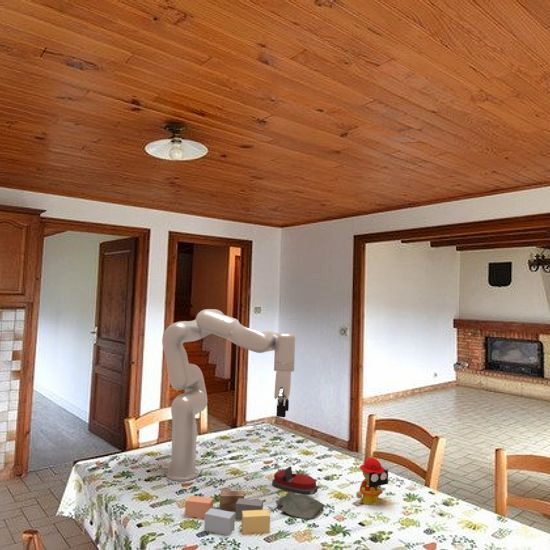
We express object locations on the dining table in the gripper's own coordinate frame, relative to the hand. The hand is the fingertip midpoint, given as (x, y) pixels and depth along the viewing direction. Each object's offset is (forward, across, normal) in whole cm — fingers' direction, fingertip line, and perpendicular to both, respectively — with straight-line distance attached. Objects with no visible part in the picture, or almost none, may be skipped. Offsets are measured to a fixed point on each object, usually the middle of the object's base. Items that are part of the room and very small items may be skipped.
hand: (282, 413), depth 164 cm
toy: (+28, +2, +32) cm, 43 cm away
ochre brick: (+28, +29, -4) cm, 40 cm away
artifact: (+28, +12, +8) cm, 32 cm away
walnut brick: (+28, +17, -14) cm, 36 cm away
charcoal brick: (+28, +22, -7) cm, 36 cm away
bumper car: (+28, -6, +4) cm, 29 cm away
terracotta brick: (+28, +24, -23) cm, 43 cm away
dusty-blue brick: (+28, +31, -14) cm, 44 cm away
